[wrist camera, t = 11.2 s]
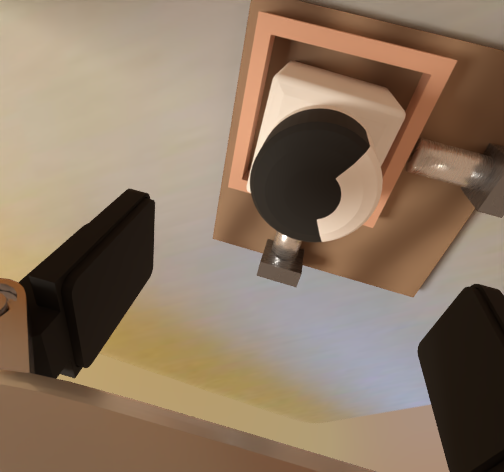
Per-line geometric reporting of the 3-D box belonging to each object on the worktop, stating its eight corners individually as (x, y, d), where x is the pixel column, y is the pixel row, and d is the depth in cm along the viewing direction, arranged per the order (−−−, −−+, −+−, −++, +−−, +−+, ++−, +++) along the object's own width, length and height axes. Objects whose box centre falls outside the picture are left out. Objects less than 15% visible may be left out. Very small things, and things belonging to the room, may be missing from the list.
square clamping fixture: (217, 230, 34) (200, 260, 29) (257, -9, 22) (239, -16, 18) (410, 286, 32) (421, 326, 28) (558, 64, 21) (614, 76, 17)
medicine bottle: (263, 155, 27) (222, 234, 17) (289, 58, 23) (254, 88, 13) (348, 181, 26) (356, 277, 17) (390, 88, 22) (433, 142, 12)
